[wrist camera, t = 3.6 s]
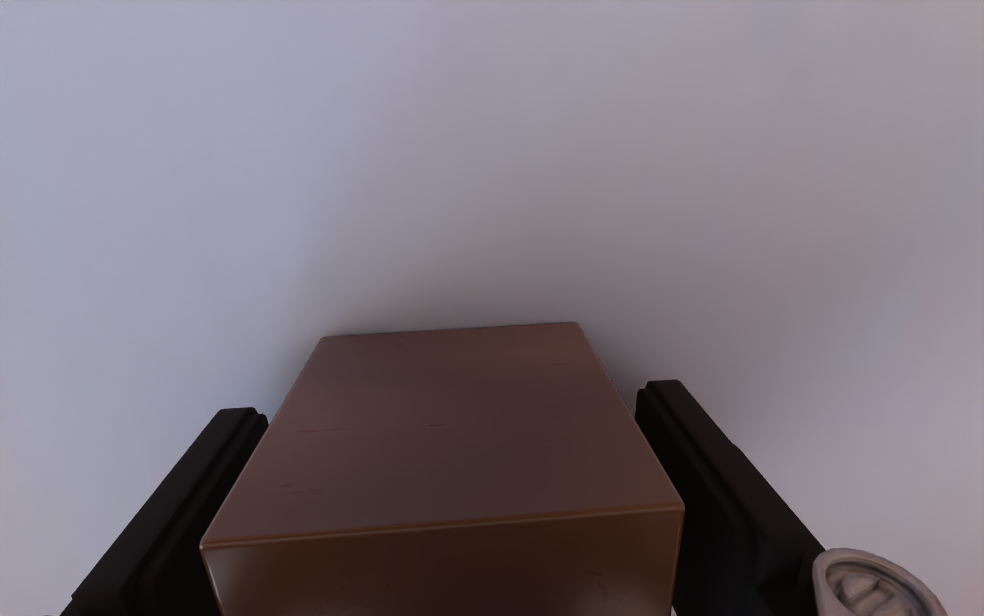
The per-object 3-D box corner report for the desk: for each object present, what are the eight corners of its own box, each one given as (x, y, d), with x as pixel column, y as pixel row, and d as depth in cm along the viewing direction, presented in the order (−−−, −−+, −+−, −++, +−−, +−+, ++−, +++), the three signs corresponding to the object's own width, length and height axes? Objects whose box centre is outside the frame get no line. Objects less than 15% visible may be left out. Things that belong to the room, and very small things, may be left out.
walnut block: (355, 534, 11) (286, 825, 7) (320, 335, 10) (193, 545, 5) (571, 517, 12) (649, 785, 7) (577, 320, 10) (689, 506, 5)
